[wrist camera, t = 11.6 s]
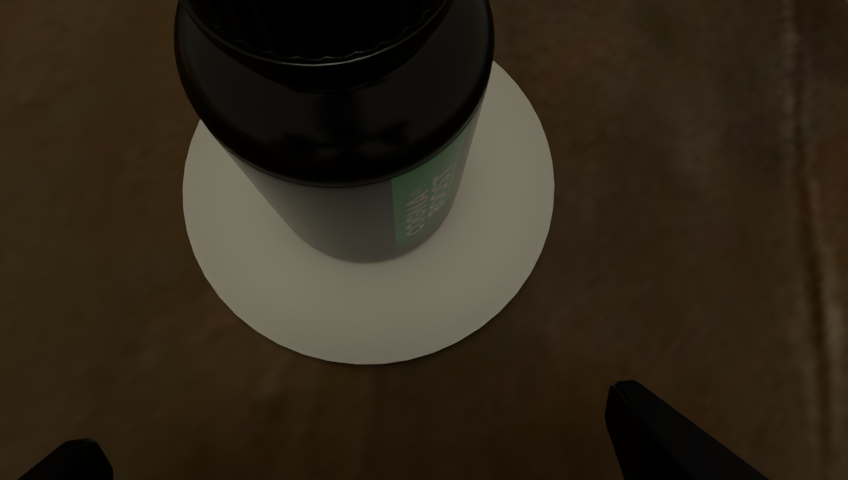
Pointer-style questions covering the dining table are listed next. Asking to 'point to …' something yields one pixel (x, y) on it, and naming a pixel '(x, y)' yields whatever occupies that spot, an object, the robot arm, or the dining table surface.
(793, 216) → the dining table surface
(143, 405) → the dining table surface
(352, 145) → the supplement bottle
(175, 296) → the dining table surface
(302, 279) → the cream plate
